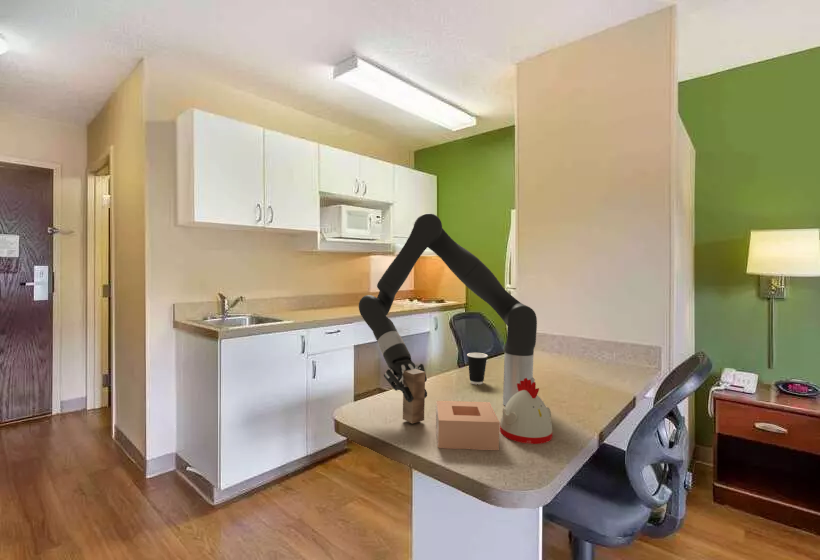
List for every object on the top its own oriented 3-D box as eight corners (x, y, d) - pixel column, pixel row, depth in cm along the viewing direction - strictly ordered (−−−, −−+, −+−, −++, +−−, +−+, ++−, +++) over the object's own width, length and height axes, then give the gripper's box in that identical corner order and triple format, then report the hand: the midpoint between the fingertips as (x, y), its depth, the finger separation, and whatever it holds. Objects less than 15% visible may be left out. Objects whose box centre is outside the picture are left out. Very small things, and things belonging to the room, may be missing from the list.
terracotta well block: (488, 426, 118) (489, 402, 118) (498, 450, 103) (499, 422, 103) (435, 424, 118) (436, 400, 118) (438, 448, 103) (438, 420, 103)
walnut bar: (414, 415, 123) (415, 368, 123) (424, 420, 120) (425, 372, 119) (402, 418, 120) (403, 370, 120) (412, 423, 117) (413, 374, 116)
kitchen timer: (521, 447, 105) (523, 388, 105) (489, 427, 118) (491, 374, 117) (563, 439, 111) (565, 383, 110) (529, 421, 123) (531, 370, 123)
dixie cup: (491, 384, 160) (491, 356, 160) (473, 386, 157) (474, 357, 157) (479, 379, 168) (480, 352, 167) (462, 381, 164) (463, 353, 164)
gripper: (379, 344, 121) (404, 397, 112) (417, 340, 130) (443, 388, 121) (369, 359, 125) (392, 410, 116) (406, 353, 134) (430, 401, 125)
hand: (418, 398), depth 118 cm, fingers closed on walnut bar, 4 cm apart
